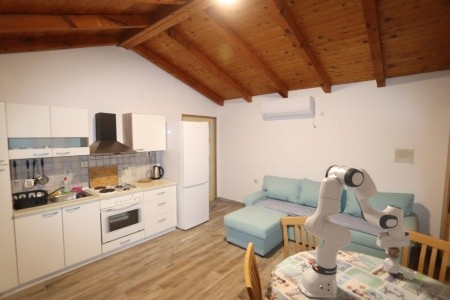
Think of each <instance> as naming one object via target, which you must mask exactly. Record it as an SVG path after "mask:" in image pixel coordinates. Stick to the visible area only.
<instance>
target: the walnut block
mask: <svg viewBox="0 0 450 300" xmlns="http://www.w3.org/2000/svg"><path fill="white" fill-rule="evenodd" d="M388 250H389V251H390V254H386V252H385V251H386V250H385V249H384V255H385V256H387V257H388V258H393V259H399V258H400V253H401V252H400V251H401V249H398V248H397V247H390V248H389V249H388Z"/></svg>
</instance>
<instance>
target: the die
mask: <svg viewBox="0 0 450 300" xmlns="http://www.w3.org/2000/svg"><path fill="white" fill-rule="evenodd" d="M382 267H383V268H384V270H385V271H386V272H388V273H390V274H396V275H397V274H399V272H400V269H401V264H400V263H399V262H398V261H397V260H396V259H395V258H390V257H387V258H386V257H385V259H384V260H383V263H382Z"/></svg>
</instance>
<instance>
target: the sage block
mask: <svg viewBox="0 0 450 300" xmlns="http://www.w3.org/2000/svg"><path fill="white" fill-rule="evenodd" d="M402 273H403V275H402V278H405V279H406V280H409V281H412V280H414V279H415V272H413V271H411V270H408V269H405V270H404V271H403V272H402Z"/></svg>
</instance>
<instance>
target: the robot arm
mask: <svg viewBox="0 0 450 300" xmlns="http://www.w3.org/2000/svg"><path fill="white" fill-rule="evenodd" d="M343 186H344V187H349V188H353V189H354V196H355V199H356V202H357V204H358V206H359V209H360V216H361V218H362V220H363V221H365V222H367V223H369V224H371V225H374V226H376V227H379V228H381V229H384V232H382V231H381V232H379V233H378V234H377V237H376V246H377V247H378V248H380V249H384V253H385V252H386V254H390V251H389V250H388V249H389V248H390V247H397V248H398V249H400V250H401V249H402V247H409V246H410V240H411V237H410V236H411V232H410V231H408V230H405V229H404V226H403V225H404V218H405V217H404V216H405V215H404V209H403V208H402V207H400V206H398V205H393V204H387V207H386V208H385V209H383V210H380V209H377V208H375V207H373V206H372V205H371V203H370V201H369V200H370V199H371V198H373V197H374V196H376V194H377V192H378V190H377V186H376V184H375V182H374V180H373V178H372V177H371V176H370V174H369V173H368V172H367V170H366V169H364V168H362V167H350V166H346V165H336V164H334V165H330V166H328V167H327V169H326V171H325V176H324V177H323V178H322V180H321V183H320V187H319V192H318V202H317V207H316V210H315V212H314V213H313V214H312V215H311V216H309V217H307V218H306V220H305V222H304V229H305V231H306V232H307V233H309V234H310V235H312V236H313V237H316V238H318V239H321V240H323V241H324V243H321V244H319V245H317V246H316V248H315V253H314V254H315V255H314V257H315V258H314V261H312V260H309V261H308V264H309V265H310V266H311V267H309V268H307V270H305V271H304V272H302V274H301V277H300V278H297V279H296V284H297V287H298V288H299V290H300V291H301V293H302V294H304V295H305V296H306V297H308V298H320V299H321V298H324V299H325V298H326V299H336V298H337V294H338V292H339V287H338V283H337V281H338V280H337V272H338V265H337V258H338V253H339V251H340V250H341V249H342V248H345V247H347V246H348V245H350V244H351V242H352V238H353V236H352V232H351V230H350V229H349V228H347V227H346V226H344V225H342V224H340V223H337V222H333V221H331V220H329V219H330V218H329V217H331V216H332V217H333V216H335V215H338V214H339V212H340V207H341V206H340V205H341V190H342V187H343ZM385 250H386V251H385ZM386 254H385V255H386Z"/></svg>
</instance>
